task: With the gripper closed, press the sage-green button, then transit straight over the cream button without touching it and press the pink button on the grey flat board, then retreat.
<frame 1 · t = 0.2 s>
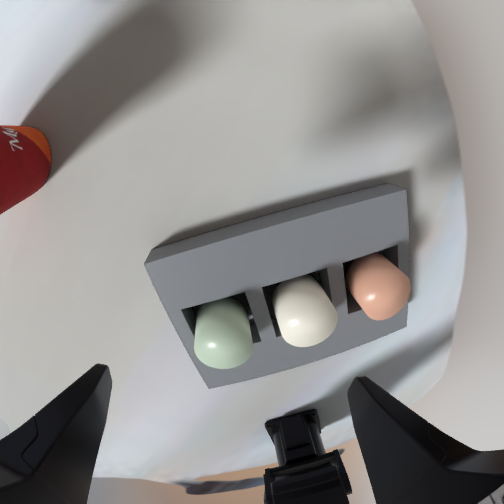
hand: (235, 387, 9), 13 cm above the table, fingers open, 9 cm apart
grey flat board: (293, 287, 23), on the table
paper cup: (27, 160, 17), on the table
sage button: (222, 333, 20), point 3 cm above the table, slide at 0.0 cm
pink button: (377, 285, 20), point 3 cm above the table, slide at 0.0 cm
cream button: (303, 310, 20), point 3 cm above the table, slide at 0.0 cm
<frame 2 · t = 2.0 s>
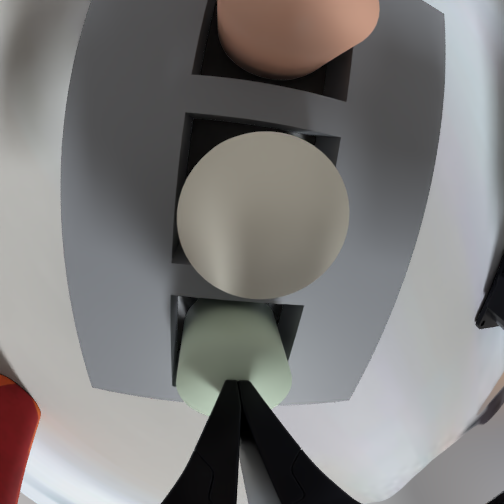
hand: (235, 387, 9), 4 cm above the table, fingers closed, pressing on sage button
grey flat board: (247, 186, 11), on the table
paper cup: (15, 396, 15), on the table
sage button: (231, 355, 11), point 3 cm above the table, slide at -0.6 cm, touching gripper
pink button: (288, 10, 6), point 3 cm above the table, slide at 0.0 cm
cream button: (257, 204, 8), point 3 cm above the table, slide at 0.0 cm
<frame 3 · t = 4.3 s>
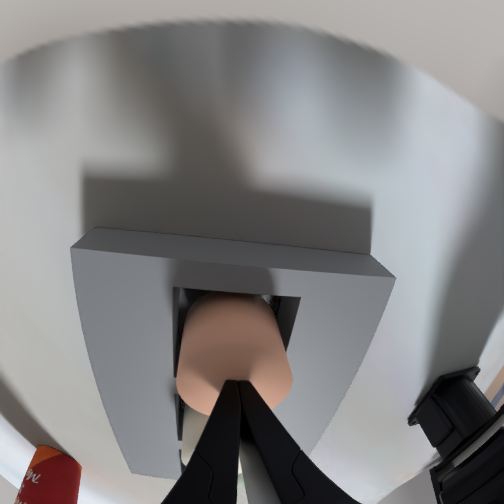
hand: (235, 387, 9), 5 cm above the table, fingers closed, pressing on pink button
grey flat board: (219, 390, 16), on the table
paper cup: (60, 457, 20), on the table
sage button: (214, 462, 16), point 2 cm above the table, slide at -1.0 cm
pink button: (232, 354, 11), point 3 cm above the table, slide at 0.0 cm, touching gripper
cream button: (220, 434, 13), point 3 cm above the table, slide at 0.0 cm
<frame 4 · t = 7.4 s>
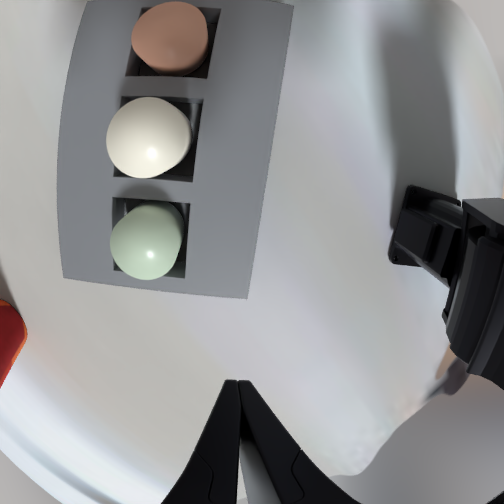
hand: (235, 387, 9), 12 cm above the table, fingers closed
grey flat board: (164, 137, 17), on the table
paper cup: (8, 321, 21), on the table
sage button: (149, 237, 17), point 2 cm above the table, slide at -1.0 cm
pink button: (172, 40, 13), point 2 cm above the table, slide at -1.0 cm
cream button: (152, 137, 14), point 3 cm above the table, slide at 0.0 cm
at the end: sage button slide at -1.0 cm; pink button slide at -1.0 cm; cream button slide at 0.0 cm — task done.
